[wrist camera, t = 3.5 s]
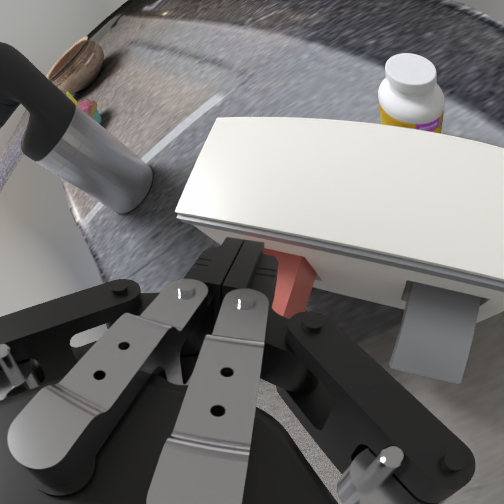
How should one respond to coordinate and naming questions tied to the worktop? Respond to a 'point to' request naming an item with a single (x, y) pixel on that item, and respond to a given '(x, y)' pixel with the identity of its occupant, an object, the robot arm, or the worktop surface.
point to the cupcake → (88, 107)
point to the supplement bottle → (411, 94)
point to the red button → (292, 283)
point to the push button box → (357, 204)
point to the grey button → (435, 333)
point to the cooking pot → (77, 66)
